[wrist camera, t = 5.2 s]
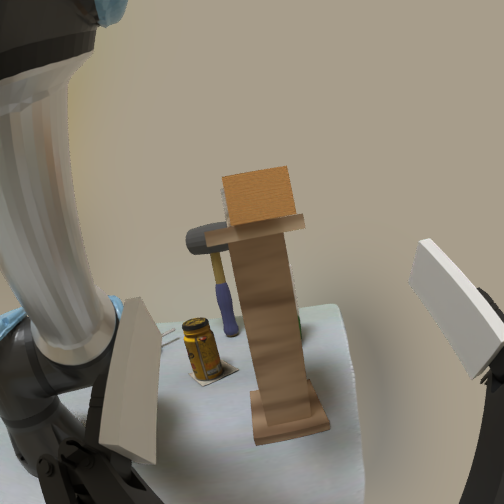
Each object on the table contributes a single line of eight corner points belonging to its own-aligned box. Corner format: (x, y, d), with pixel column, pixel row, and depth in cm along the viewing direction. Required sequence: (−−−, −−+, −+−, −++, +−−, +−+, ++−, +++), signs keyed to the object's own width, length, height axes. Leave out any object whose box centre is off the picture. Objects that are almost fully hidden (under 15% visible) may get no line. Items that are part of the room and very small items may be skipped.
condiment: (188, 374, 54) (172, 323, 53) (222, 360, 59) (209, 310, 58) (203, 387, 48) (186, 331, 47) (239, 370, 53) (226, 316, 52)
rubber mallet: (258, 329, 74) (237, 218, 71) (248, 341, 67) (223, 220, 64) (219, 330, 79) (196, 227, 76) (206, 340, 72) (180, 229, 69)
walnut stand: (329, 429, 30) (302, 213, 28) (255, 445, 30) (204, 232, 27) (310, 385, 42) (283, 217, 40) (251, 398, 42) (214, 230, 39)
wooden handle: (312, 211, 17) (291, 116, 16) (214, 229, 17) (197, 132, 16) (270, 219, 40) (261, 177, 39) (228, 227, 39) (220, 185, 39)
